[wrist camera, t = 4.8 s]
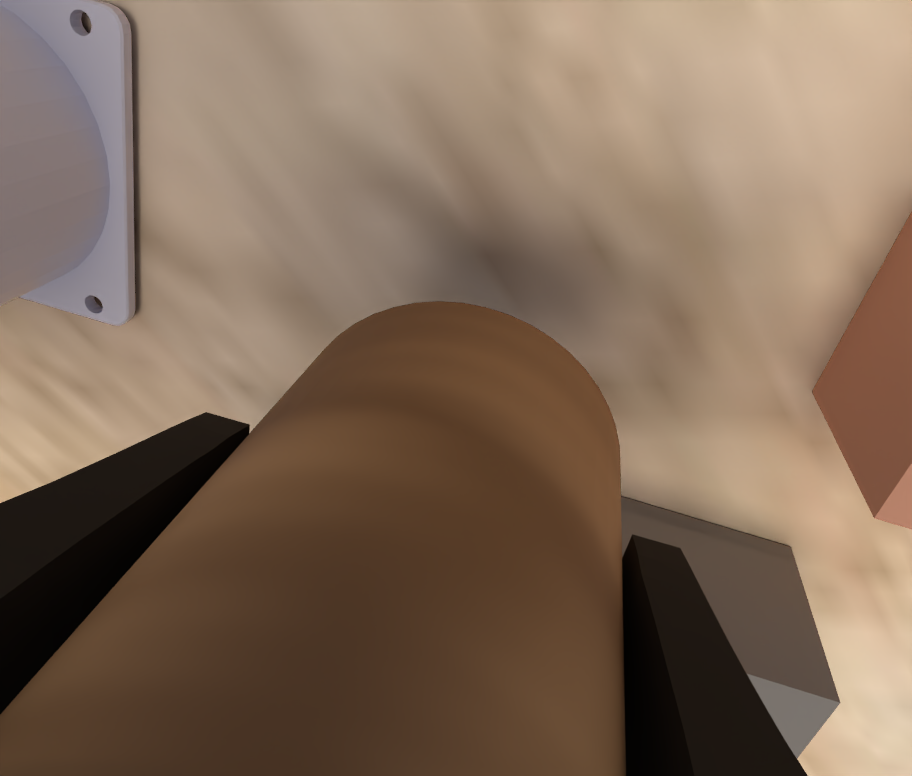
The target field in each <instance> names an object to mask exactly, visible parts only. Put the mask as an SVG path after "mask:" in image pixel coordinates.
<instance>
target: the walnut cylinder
mask: <svg viewBox="0 0 912 776" xmlns="http://www.w3.org/2000/svg"><path fill="white" fill-rule="evenodd" d="M0 776H626V740H625V686H624V633H623V580H622V527H621V474H620V445H619V440H618V435H617V430H616V426H615V423H614V420H613V417H612V414H611V412H610V409H609V406H608V404H607V402H606V400H605V399H604V397H603V395H602V393H601V391H600V389H599V387H598V386H597V385H596V383H595V382H594V380H593V379H592V378H591V376H590V375H589V374H588V372H587V371H586V369H585V368H584V367H583V366H582V365H581V364H580V363H579V362H578V361H577V360H576V359H575V358H574V357H573V356H572V355H571V354H570V352H568V351H567V350H566V349H565V348H563V347H562V346H561V345H560V344H558V343H557V342H556V341H555V340H553V339H552V338H551V337H549V336H548V335H546V334H545V333H543V332H541V331H540V330H538V329H537V328H535V327H533V326H532V325H530V324H528V323H526V322H523V321H521V320H519V319H517V318H515V317H513V316H510V315H508V314H505V313H502V312H499V311H495V310H492V309H489V308H486V307H481V306H476V305H471V304H465V303H456V302H440V301H437V302H422V303H413V304H408V305H402V306H397V307H393V308H390V309H387V310H384V311H381V312H378V313H376V314H373V315H371V316H369V317H367V318H365V319H363V320H361V321H359V322H357V323H355V324H354V325H352V326H351V327H350V328H348V329H347V330H345V331H344V332H343V333H341V334H340V335H339V336H337V337H336V338H335V339H334V340H333V341H332V342H331V343H330V344H329V345H328V346H327V347H326V348H325V349H324V350H323V351H322V353H321V354H320V355H319V356H318V357H317V358H316V359H315V360H314V362H313V363H312V364H311V365H310V366H309V367H308V368H307V369H306V371H305V372H304V373H303V374H302V375H301V376H300V377H299V379H298V380H297V381H296V382H295V383H294V384H293V385H292V386H291V388H290V389H289V390H288V391H287V392H286V393H285V394H284V395H283V397H282V398H281V399H280V400H279V401H278V402H277V403H276V404H275V406H274V407H273V408H272V409H271V410H270V411H269V412H268V413H267V415H266V416H265V417H264V418H263V419H262V420H261V421H260V422H259V424H258V425H257V426H256V427H255V428H254V429H253V430H252V431H251V433H250V434H249V435H248V436H247V437H246V438H245V439H244V440H243V442H242V443H241V444H240V445H239V446H238V447H237V448H236V449H235V451H234V452H233V453H232V454H231V455H230V456H229V457H228V459H227V460H226V461H225V462H224V463H223V464H222V465H221V466H220V468H219V469H218V470H217V471H216V472H215V473H214V474H213V475H212V477H211V478H210V479H209V480H208V481H207V482H206V483H205V484H204V486H203V487H202V488H201V489H200V490H199V491H198V492H197V493H196V495H195V496H194V497H193V498H192V499H191V500H190V501H189V502H188V504H187V505H186V506H185V507H184V508H183V509H182V510H181V511H180V513H179V514H178V515H177V516H176V517H175V518H174V519H173V520H172V522H171V523H170V524H169V525H168V526H167V527H166V528H165V530H164V531H163V532H162V533H161V534H160V535H159V536H158V537H157V539H156V540H155V541H154V542H153V543H152V544H151V545H150V546H149V548H148V549H147V550H146V551H145V552H144V553H143V554H142V555H141V557H140V558H139V559H138V560H137V561H136V562H135V563H134V564H133V566H132V567H131V568H130V569H129V570H128V571H127V572H126V573H125V575H124V576H123V577H122V578H121V579H120V580H119V581H118V582H117V584H116V585H115V586H114V587H113V588H112V589H111V590H110V591H109V593H108V594H107V595H106V596H105V597H104V598H103V599H102V600H101V602H100V603H99V604H98V605H97V606H96V607H95V608H94V610H93V611H92V612H91V613H90V614H89V615H88V616H87V617H86V619H85V620H84V621H83V622H82V623H81V624H80V625H79V626H78V628H77V629H76V630H75V631H74V632H73V633H72V634H71V635H70V637H69V638H68V639H67V640H66V641H65V642H64V643H63V644H62V646H61V647H60V648H59V649H58V650H57V651H56V652H55V653H54V655H53V656H52V657H51V658H50V659H49V660H48V661H47V662H46V664H45V665H44V666H43V667H42V668H41V669H40V670H39V671H38V673H37V674H36V675H35V676H34V677H33V678H32V679H31V680H30V682H29V683H28V684H27V685H26V686H25V687H24V688H23V690H22V691H21V692H20V693H19V694H18V695H17V696H16V697H15V699H14V700H13V701H12V702H11V703H10V704H9V705H8V706H7V708H6V709H5V710H4V711H3V712H2V713H1V714H0Z"/></svg>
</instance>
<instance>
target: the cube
mask: <svg viewBox="0 0 912 776" xmlns="http://www.w3.org/2000/svg"><path fill="white" fill-rule="evenodd" d="M812 393H813V395H814V397H815V399H816V401H817V403H818V405H819V407H820V409H821V411H822V413H823V415H824V417H825V419H826V421H827V423H828V425H829V427H830V429H831V431H832V433H833V435H834V437H835V439H836V441H837V443H838V446H839V448H840V450H841V452H842V454H843V456H844V458H845V460H846V462H847V464H848V466H849V468H850V470H851V472H852V474H853V476H854V478H855V480H856V482H857V484H858V486H859V488H860V490H861V492H862V494H863V496H864V498H865V500H866V502H867V504H868V506H869V508H870V510H871V512H872V515H873V517H874V518H876V519H879V520H882V521H886V522H889V523H892V524H896V525H899V526H902V527H906V528H909V529H912V212H911V214H910V216H909V217H908V219H907V221H906V223H905V225H904V226H903V228H902V230H901V232H900V234H899V235H898V237H897V239H896V241H895V243H894V244H893V246H892V248H891V250H890V252H889V253H888V255H887V257H886V259H885V261H884V263H883V264H882V266H881V268H880V270H879V272H878V273H877V275H876V277H875V279H874V281H873V282H872V284H871V286H870V288H869V290H868V291H867V293H866V295H865V297H864V299H863V300H862V302H861V304H860V306H859V308H858V309H857V311H856V313H855V315H854V317H853V319H852V320H851V322H850V324H849V326H848V328H847V329H846V331H845V333H844V335H843V337H842V338H841V340H840V342H839V344H838V346H837V347H836V349H835V351H834V353H833V355H832V356H831V358H830V360H829V362H828V364H827V365H826V367H825V369H824V371H823V373H822V374H821V376H820V378H819V380H818V382H817V384H816V385H815V387H814V389H813V391H812Z"/></svg>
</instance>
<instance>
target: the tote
mask: <svg viewBox="0 0 912 776" xmlns="http://www.w3.org/2000/svg"><path fill="white" fill-rule="evenodd" d="M621 527H622V557H623V555H624V553H625V550H626V548H627V546H628V543H629V541H630V538H631V536H632V534H633V535H637V536H640V537H644V538H647V539H651V540H654V541H658V542H661V543H665V544H668V545H672V546H675V547H679V548H681V550H682V552H683V554H684V556H685V557H686V559H687V561H688V563H689V565H690V567H691V569H692V571H693V573H694V575H695V577H696V579H697V580H698V582H699V584H700V586H701V588H702V590H703V592H704V594H705V596H706V598H707V600H708V602H709V604H710V606H711V608H712V610H713V612H714V614H715V616H716V617H717V619H718V621H719V623H720V625H721V627H722V629H723V631H724V633H725V635H726V637H727V638H728V640H729V642H730V644H731V646H732V648H733V650H734V652H735V653H736V655H737V657H738V659H739V661H740V663H741V664H742V666H743V668H744V670H745V672H746V673H747V675H748V677H749V679H750V680H751V682H752V684H753V686H754V687H755V689H756V691H757V693H758V694H759V696H760V698H761V700H762V702H763V703H764V705H765V707H766V709H767V710H768V712H769V714H770V716H771V717H772V719H773V721H774V722H775V724H776V726H777V727H778V729H779V731H780V732H781V734H782V736H783V737H784V739H785V741H786V742H787V744H788V746H789V747H790V749H791V750H792V752H793V754H794V755H795V757H796V758H798V757H799V755H800V754H801V753H802V752H803V750H804V749H805V748H806V746H807V745H808V744H809V743H810V741H811V740H812V739H813V737H814V736H815V735H816V733H817V732H818V731H819V730H820V728H821V727H822V726H823V724H824V723H825V722H826V721H827V719H828V718H829V717H830V715H831V714H832V713H833V712H834V710H835V709H836V708H837V706H838V705H839V704H840V700H839V697H838V694H837V691H836V688H835V684H834V681H833V678H832V675H831V672H830V669H829V666H828V662H827V659H826V656H825V653H824V650H823V647H822V643H821V640H820V637H819V634H818V631H817V628H816V625H815V621H814V618H813V615H812V612H811V609H810V606H809V603H808V599H807V596H806V593H805V590H804V587H803V584H802V580H801V577H800V574H799V571H798V568H797V565H796V562H795V558H794V555H793V552H792V549H791V547H789V546H785V545H782V544H779V543H775V542H772V541H769V540H765V539H762V538H759V537H755V536H752V535H749V534H745V533H742V532H739V531H735V530H732V529H729V528H725V527H722V526H719V525H715V524H712V523H708V522H705V521H702V520H698V519H695V518H692V517H688V516H685V515H682V514H678V513H675V512H672V511H668V510H665V509H662V508H658V507H655V506H652V505H648V504H645V503H642V502H638V501H635V500H631V499H628V498H625V497H621Z"/></svg>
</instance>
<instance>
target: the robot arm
mask: <svg viewBox="0 0 912 776" xmlns="http://www.w3.org/2000/svg"><path fill="white" fill-rule="evenodd" d="M83 12H85V13H86V14H87V15H88V17H89V18H90V21H91V25H92V27H91V32H90V33H88V32H87V31H86V30H85V29H84V27H83V25H82V21H81V17H82V13H83ZM94 296H95V297H97V298H98V299H99V300H100V301H101V303H102V306H103V308H102V307H100V306H99V305H98V304H97V303H96V302H95V299H94ZM18 297H19V298H23V299H26V300H30V301H33V302H36V303H40V304H43V305H46V306H50V307H53V308H56V309H60V310H63V311H67V312H70V313H73V314H77V315H80V316H83V317H87V318H90V319H94V320H97V321H100V322H104V323H107V324H110V325H116V326H120V325H122V324H125V323H126V322H128V321H129V320H131V319H132V317H133V316H134V314H135V255H134V184H133V114H132V44H131V29H130V23H129V21H128V19H127V17H126V16H125V14H124V13H123V12H122V11H121V10H120V9H119V8H118V7H116V6H114V5H112V4H110V3H106V2H103V1H99V0H0V306H2V305H4V304H6V303H8V302H10V301H12V300H14V299H16V298H18ZM249 427H250V425H249V424H245V423H242V422H238V421H235V420H231V419H228V418H224V417H221V416H217V415H214V414H210V413H207V412H206V413H203V414H201V415H199V416H196V417H194V418H191V419H189V420H187V421H185V422H182V423H180V424H178V425H176V426H174V427H171V428H169V429H167V430H165V431H163V432H161V433H158V434H156V435H154V436H152V437H150V438H148V439H146V440H143V441H141V442H139V443H137V444H135V445H133V446H131V447H128V448H126V449H124V450H122V451H120V452H118V453H116V454H113V455H111V456H109V457H107V458H104V459H102V460H100V461H98V462H96V463H93V464H91V465H89V466H87V467H85V468H82V469H80V470H78V471H76V472H74V473H71V474H69V475H67V476H65V477H62V478H60V479H58V480H56V481H53V482H51V483H49V484H46V485H44V486H41V487H39V488H37V489H34V490H32V491H29V492H27V493H24V494H22V495H19V496H17V497H14V498H12V499H10V500H7V501H5V502H2V503H0V714H1V713H2V712H3V711H4V710H5V709H6V708H7V706H8V705H9V704H10V703H11V702H12V701H13V700H14V699H15V697H16V696H17V695H18V694H19V693H20V692H21V691H22V690H23V688H24V687H25V686H26V685H27V684H28V683H29V682H30V680H31V679H32V678H33V677H34V676H35V675H36V674H37V673H38V671H39V670H40V669H41V668H42V667H43V666H44V665H45V664H46V662H47V661H48V660H49V659H50V658H51V657H52V656H53V655H54V653H55V652H56V651H57V650H58V649H59V648H60V647H61V646H62V644H63V643H64V642H65V641H66V640H67V639H68V638H69V637H70V635H71V634H72V633H73V632H74V631H75V630H76V629H77V628H78V626H79V625H80V624H81V623H82V622H83V621H84V620H85V619H86V617H87V616H88V615H89V614H90V613H91V612H92V611H93V610H94V608H95V607H96V606H97V605H98V604H99V603H100V602H101V600H102V599H103V598H104V597H105V596H106V595H107V594H108V593H109V591H110V590H111V589H112V588H113V587H114V586H115V585H116V584H117V582H118V581H119V580H120V579H121V578H122V577H123V576H124V575H125V573H126V572H127V571H128V570H129V569H130V568H131V567H132V566H133V564H134V563H135V562H136V561H137V560H138V559H139V558H140V557H141V555H142V554H143V553H144V552H145V551H146V550H147V549H148V548H149V546H150V545H151V544H152V543H153V542H154V541H155V540H156V539H157V537H158V536H159V535H160V534H161V533H162V532H163V531H164V530H165V528H166V527H167V526H168V525H169V524H170V523H171V522H172V520H173V519H174V518H175V517H176V516H177V515H178V514H179V513H180V511H181V510H182V509H183V508H184V507H185V506H186V505H187V504H188V502H189V501H190V500H191V499H192V498H193V497H194V496H195V495H196V493H197V492H198V491H199V490H200V489H201V488H202V487H203V486H204V484H205V483H206V482H207V481H208V480H209V479H210V478H211V477H212V475H213V474H214V473H215V472H216V471H217V470H218V469H219V468H220V466H221V465H222V464H223V463H224V462H225V461H226V460H227V459H228V457H229V456H230V455H231V454H232V453H233V452H234V451H235V449H236V448H237V447H238V446H239V445H240V444H241V443H242V442H243V440H244V439H245V438H246V437H247V436H248V435H249ZM622 580H623V633H624V686H625V740H626V776H807V774H806V772H805V771H804V769H803V768H802V766H801V765H800V763H799V761H798V760H797V758H796V757H795V755H794V754H793V752H792V750H791V749H790V747H789V746H788V744H787V742H786V741H785V739H784V737H783V736H782V734H781V732H780V731H779V729H778V727H777V726H776V724H775V722H774V721H773V719H772V717H771V716H770V714H769V712H768V710H767V709H766V707H765V705H764V703H763V702H762V700H761V698H760V696H759V694H758V693H757V691H756V689H755V687H754V686H753V684H752V682H751V680H750V679H749V677H748V675H747V673H746V672H745V670H744V668H743V666H742V664H741V663H740V661H739V659H738V657H737V655H736V653H735V652H734V650H733V648H732V646H731V644H730V642H729V640H728V638H727V637H726V635H725V633H724V631H723V629H722V627H721V625H720V623H719V621H718V619H717V617H716V616H715V614H714V612H713V610H712V608H711V606H710V604H709V602H708V600H707V598H706V596H705V594H704V592H703V590H702V588H701V586H700V584H699V582H698V580H697V579H696V577H695V575H694V573H693V571H692V569H691V567H690V565H689V563H688V561H687V559H686V557H685V556H684V554H683V552H682V550H681V548H679V547H675V546H672V545H668V544H665V543H661V542H658V541H654V540H651V539H647V538H644V537H640V536H637V535H633V534H632V536H631V538H630V541H629V543H628V546H627V548H626V550H625V553H624V555H623V557H622Z"/></svg>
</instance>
